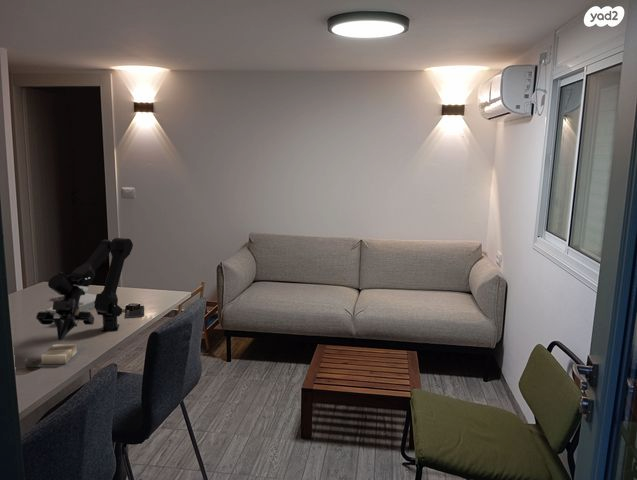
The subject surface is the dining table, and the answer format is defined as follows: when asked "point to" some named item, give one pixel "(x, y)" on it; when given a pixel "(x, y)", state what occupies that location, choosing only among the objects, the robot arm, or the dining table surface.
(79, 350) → the mat
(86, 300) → the ramp
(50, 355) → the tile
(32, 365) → the dining table surface
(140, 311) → the phone
